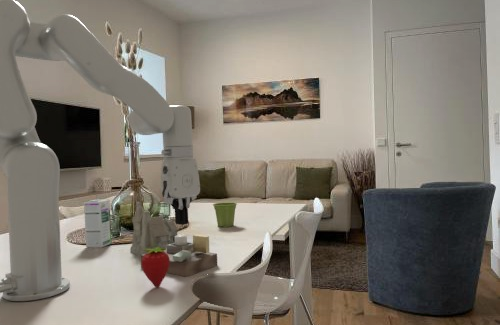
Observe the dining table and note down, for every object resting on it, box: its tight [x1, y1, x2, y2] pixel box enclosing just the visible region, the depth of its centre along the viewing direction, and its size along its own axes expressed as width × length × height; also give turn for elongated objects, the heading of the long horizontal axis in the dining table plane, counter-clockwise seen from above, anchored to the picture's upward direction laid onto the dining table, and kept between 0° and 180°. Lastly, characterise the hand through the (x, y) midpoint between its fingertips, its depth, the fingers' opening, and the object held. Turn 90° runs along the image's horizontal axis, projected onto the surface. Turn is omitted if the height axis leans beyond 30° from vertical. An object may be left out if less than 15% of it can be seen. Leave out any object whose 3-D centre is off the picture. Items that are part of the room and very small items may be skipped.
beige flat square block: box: [192, 234, 210, 253], centre depth 103 cm, size 1×4×4 cm, turn 54°
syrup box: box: [83, 198, 113, 249], centre depth 130 cm, size 6×6×14 cm
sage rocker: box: [173, 250, 192, 262], centre depth 97 cm, size 4×3×1 cm
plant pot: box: [212, 201, 238, 228], centre depth 158 cm, size 9×9×9 cm
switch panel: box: [140, 241, 218, 277], centre depth 103 cm, size 11×16×5 cm
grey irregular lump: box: [129, 201, 178, 257], centre depth 123 cm, size 16×16×15 cm
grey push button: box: [175, 234, 188, 247], centre depth 106 cm, size 3×3×3 cm
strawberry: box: [140, 241, 170, 288], centre depth 87 cm, size 6×8×10 cm
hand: (181, 223), depth 107 cm, fingers closed
